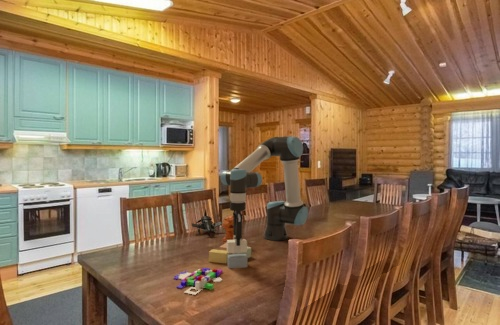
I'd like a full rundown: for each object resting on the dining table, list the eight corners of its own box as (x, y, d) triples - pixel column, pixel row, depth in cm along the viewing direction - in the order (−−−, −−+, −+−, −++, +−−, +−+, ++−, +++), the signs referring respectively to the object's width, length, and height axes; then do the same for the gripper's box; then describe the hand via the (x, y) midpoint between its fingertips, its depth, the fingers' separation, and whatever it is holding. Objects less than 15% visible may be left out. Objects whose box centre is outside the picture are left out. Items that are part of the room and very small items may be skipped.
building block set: (192, 267, 148) (192, 258, 148) (231, 275, 140) (231, 265, 140) (157, 288, 125) (157, 277, 125) (201, 299, 117) (202, 287, 117)
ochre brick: (228, 260, 157) (229, 250, 157) (226, 263, 153) (226, 253, 153) (212, 258, 159) (212, 249, 159) (208, 261, 155) (208, 251, 155)
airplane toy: (218, 229, 220) (219, 207, 219) (225, 236, 201) (225, 212, 201) (190, 231, 213) (190, 208, 213) (194, 238, 195) (194, 214, 194)
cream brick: (245, 249, 152) (245, 239, 152) (246, 252, 148) (247, 241, 148) (226, 250, 150) (226, 239, 150) (228, 253, 146) (228, 242, 146)
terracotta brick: (226, 251, 172) (226, 242, 171) (234, 252, 170) (234, 243, 170) (219, 256, 163) (219, 246, 163) (227, 257, 162) (227, 247, 161)
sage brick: (245, 255, 166) (245, 245, 166) (251, 257, 163) (251, 247, 162) (232, 259, 159) (232, 249, 159) (238, 261, 156) (238, 251, 156)
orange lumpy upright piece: (238, 248, 176) (238, 217, 175) (219, 247, 178) (219, 216, 177) (242, 243, 187) (242, 213, 186) (224, 241, 189) (225, 212, 188)
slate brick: (245, 264, 153) (245, 254, 152) (247, 267, 148) (247, 257, 148) (227, 265, 151) (227, 254, 151) (228, 268, 147) (228, 257, 146)
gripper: (228, 198, 156) (227, 245, 157) (232, 204, 139) (231, 256, 140) (242, 198, 158) (242, 244, 158) (248, 204, 140) (247, 256, 141)
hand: (237, 250), depth 149 cm, fingers closed on cream brick, 5 cm apart
